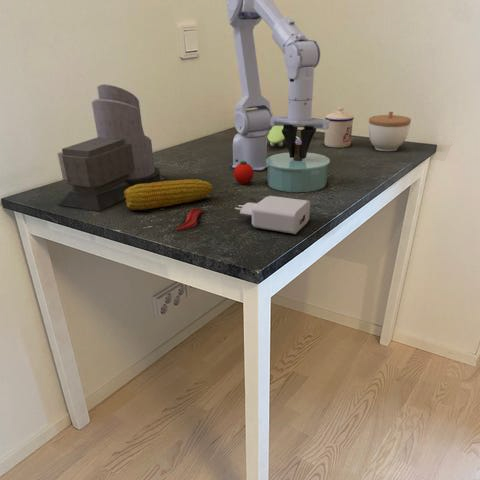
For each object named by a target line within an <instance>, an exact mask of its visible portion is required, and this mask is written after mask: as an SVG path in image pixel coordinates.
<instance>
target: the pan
mask: <svg viewBox="0 0 480 480" xmlns="http://www.w3.org/2000/svg"><path fill="white" fill-rule="evenodd" d="M328 168H329V165H327V166H325V167H323V168H319V169H314V170H300V171H299V170H283V169H278V168H274V167H271V166H269V165H268V167H267V185H268V187H270V188H271V189H273V190H275V191H280V192H288V193H308V192H315V191H319V190H321V189H323V188H325V187H326V186H327V182H328Z"/></svg>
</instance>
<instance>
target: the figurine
mask: <svg viewBox="0 0 480 480" xmlns="http://www.w3.org/2000/svg"><path fill="white" fill-rule="evenodd" d="M283 127H284V126H273V127H272V129H271V130H270V131H269V134H267V144H268V143H269V144H270V146H271V147H274V146H275V145H277V146H278V147H283V145H284V142H283V141H284V140H285V138H284V135H283V134H282V129H283ZM296 143H302V142H301V137H299V136H297V135H296Z"/></svg>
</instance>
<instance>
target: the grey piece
mask: <svg viewBox="0 0 480 480" xmlns="http://www.w3.org/2000/svg"><path fill="white" fill-rule="evenodd" d="M96 89H97V95H98V98H95V99H93V100H92V102H91V107H92V112H93V118H94V124H95V130H96V131H95V132H96V137H94V138H91V139H88V140H86V141H82V142H78V143H76V144H73V145H70V146H67V147H66V146H65V147H64V148H61V151H60V152H57V157H58V162H59V166H60V171H61V176H62V180H64V181H67V185H70V186H72V187H71V189H72V190H70V191H68V193H67V195H66V196H65V197H64V198H63V200H62V201H61V202H60V204H59V206H64V207H68V208H76V209H83V210H88V211H89V210H90V211H95V212H101V211H103V210H105V209H107V208H109V207H111V206H113V205H115V204H117V203H119V202H120V201H123V200H126V198H125V197H124V196H125V195H124V191H125V190H126V189H128V188H129V187H131V186H134V185H137V184H146V183H149V184H150V183H154V182H161V181H162V182H163V181H166V178H165V177H163V176H161V172H160V169H159V168H158V167H156V166H155V161H154V153H153V144H152V139H151V138H150V136H147V135H145V131H144V128H143V123H142V114H141V105H140V100H139V98H138V97H137V96H136V95H135V94H133V93H132V92H130V91H129V90H127V89H124V88H122V87H119V86H116V85H113V84H104V83H103V84H100V85H98V86H97V87H96Z"/></svg>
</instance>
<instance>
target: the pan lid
mask: <svg viewBox="0 0 480 480" xmlns="http://www.w3.org/2000/svg"><path fill="white" fill-rule="evenodd" d="M301 147H302V143H294V150H293V158H290V155H289V152H282V153H281V152H280V153H276V154H272V155H270V156H267V159H266V163H267V164H268V165H269V166H271V167H274V168H278V169H283V170H299V171H300V170H314V169H319V168H323V167H325V166H327V165H328V166H329V165H330V163H331V159H330V158H329V157H327V156H326V155H323V154H319V153H313V152H307V155H306V158H304V159H301Z"/></svg>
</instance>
